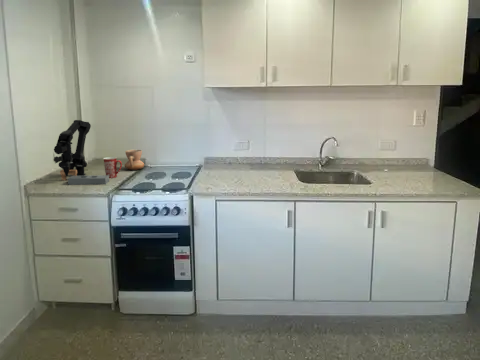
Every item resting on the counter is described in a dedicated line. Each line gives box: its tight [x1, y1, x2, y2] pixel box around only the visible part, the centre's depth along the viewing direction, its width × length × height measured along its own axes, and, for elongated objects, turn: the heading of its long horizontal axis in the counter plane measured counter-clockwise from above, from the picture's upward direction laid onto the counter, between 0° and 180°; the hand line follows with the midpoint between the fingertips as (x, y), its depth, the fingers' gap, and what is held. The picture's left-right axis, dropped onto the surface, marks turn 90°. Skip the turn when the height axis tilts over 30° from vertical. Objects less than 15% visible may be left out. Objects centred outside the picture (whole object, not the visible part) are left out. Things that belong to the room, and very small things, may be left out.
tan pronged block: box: [59, 169, 77, 181], centre depth 301 cm, size 4×10×6 cm, turn 92°
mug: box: [102, 156, 123, 179], centre depth 308 cm, size 13×9×14 cm
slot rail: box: [67, 174, 110, 186], centre depth 292 cm, size 9×24×4 cm, turn 92°
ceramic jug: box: [124, 149, 145, 171], centre depth 334 cm, size 18×14×14 cm
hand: (69, 174), depth 301 cm, fingers open, 8 cm apart
